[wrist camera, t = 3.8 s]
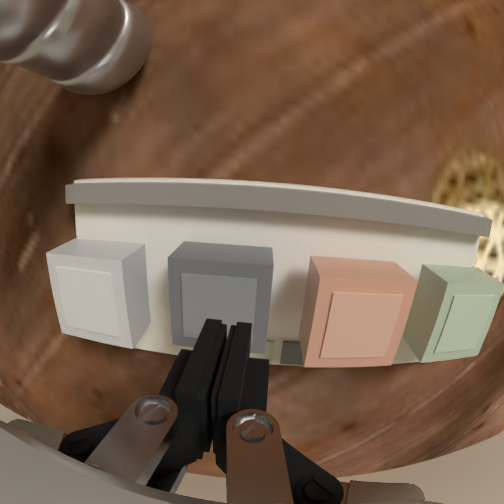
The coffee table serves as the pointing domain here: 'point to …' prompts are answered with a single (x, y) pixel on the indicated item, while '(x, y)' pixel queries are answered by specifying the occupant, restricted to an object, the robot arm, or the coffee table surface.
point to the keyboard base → (270, 238)
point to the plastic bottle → (76, 41)
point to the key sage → (451, 312)
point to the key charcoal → (219, 289)
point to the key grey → (101, 290)
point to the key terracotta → (354, 312)
